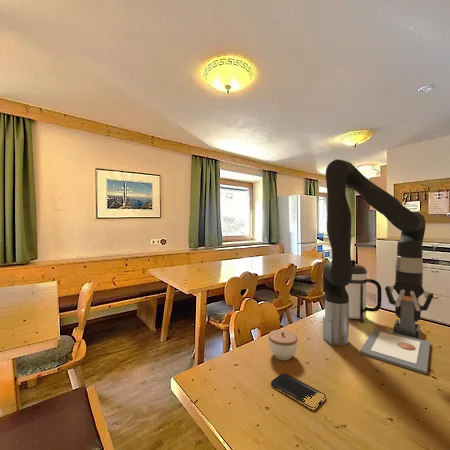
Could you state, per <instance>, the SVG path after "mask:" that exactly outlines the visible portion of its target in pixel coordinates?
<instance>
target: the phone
mask: <svg viewBox="0 0 450 450" xmlns="http://www.w3.org/2000/svg"><path fill="white" fill-rule="evenodd" d="M271 385H272V386H274V387H275V388H277V389H279V390H281V391H282V392H284V393H286V394H288V395H290V396H292V397H293V398H295V399H296V400H298V401H300V402H302V403H304V402H305V400H304V398H306V397H308V396H309V397H311V398H312V396H314V395H316V394H315V393H318V392H319V393H322V394H324V396H325V397H324V398H326V399H327V396H326V394H325V393H324V392H322V391H320V390H318V389H316V388H315V387H312V386H311V385H309V384H307V383H305V382H303V381H301V380H299V379H297V378H295V377H293V376H291V375H290V374H288V373H286V372H283V373H281V374H279V375H277V377H274V378H273V379H272V380H271V381H270V386H271ZM272 386H271V387H272ZM275 388H274V389H275ZM277 389H276V390H277ZM282 392H281V393H282ZM313 394H314V395H313ZM307 395H308V396H307ZM311 395H312V396H311ZM305 396H306V397H305ZM302 398H303V399H302ZM311 398H310V399H311ZM324 398H323V399H324ZM306 399H307V398H306ZM303 400H304V401H303ZM320 402H322V400H321V401H320ZM320 402H319V403H318V404H320ZM304 404H305V403H304ZM318 404H317V405H318ZM305 405H307V404H305ZM307 406H309V405H307ZM309 407H311V406H309ZM315 407H316V406H315ZM315 407H314V408H315ZM311 408H313V407H311Z"/></svg>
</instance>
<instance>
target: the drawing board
mask: <svg viewBox="0 0 450 450" xmlns="http://www.w3.org/2000/svg"><path fill="white" fill-rule="evenodd" d="M430 347H431V341H428V340H425V339H421V338H420V339H417V338H413V337H408V336H404V335H400V334H396V333H392V331H387V330H382V329H380V328H375V327H373V329H372V331H371V333H370V334H369V336H368V338H367V339H366V340H365V342H364V344H363V345H362V347H361V349H360V351H359V354H360V355H363V356H366V357H369V358H372V359H376V360H378V359H379V361H382V362H384V363H385V362H386V363H388V364H391V365H395V366H398V367H401V368H404V369H407V368H408V370H410V369H411V370H410V371H413V370H415V371H414V372H417V371H418V372H417V373H420V372H421V374H423V373H424V374H423V375H426V374H428V369H427V368H428V367H429V357H430Z"/></svg>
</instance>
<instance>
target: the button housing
mask: <svg viewBox="0 0 450 450" xmlns="http://www.w3.org/2000/svg"><path fill="white" fill-rule="evenodd" d="M399 320H400V319H396V320H395V322H394V324H393V328H392V331H391V332H392V333H396V334H400V335H404V336H408V337H413V338H417V339H421V336H422V330H421V327H420V326H421V325H420V324H419V323H415V329H414V330H411V329H405V328H403V327H400V326H399Z"/></svg>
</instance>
